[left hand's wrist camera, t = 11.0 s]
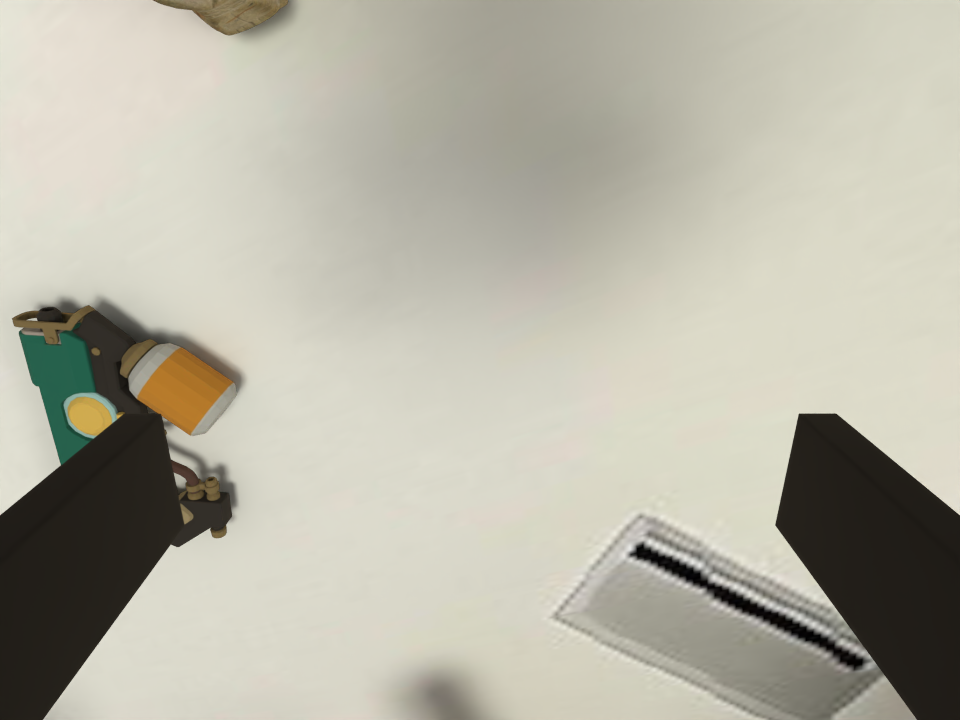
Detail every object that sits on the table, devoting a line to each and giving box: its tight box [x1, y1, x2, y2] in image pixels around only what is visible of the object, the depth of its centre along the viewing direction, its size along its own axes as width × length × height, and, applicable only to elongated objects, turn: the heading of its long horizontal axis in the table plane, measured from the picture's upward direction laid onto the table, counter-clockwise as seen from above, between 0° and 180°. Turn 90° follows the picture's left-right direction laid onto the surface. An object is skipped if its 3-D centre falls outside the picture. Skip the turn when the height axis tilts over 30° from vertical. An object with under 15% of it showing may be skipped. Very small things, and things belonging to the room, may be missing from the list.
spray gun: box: [12, 305, 237, 547], centre depth 41 cm, size 4×17×15 cm
